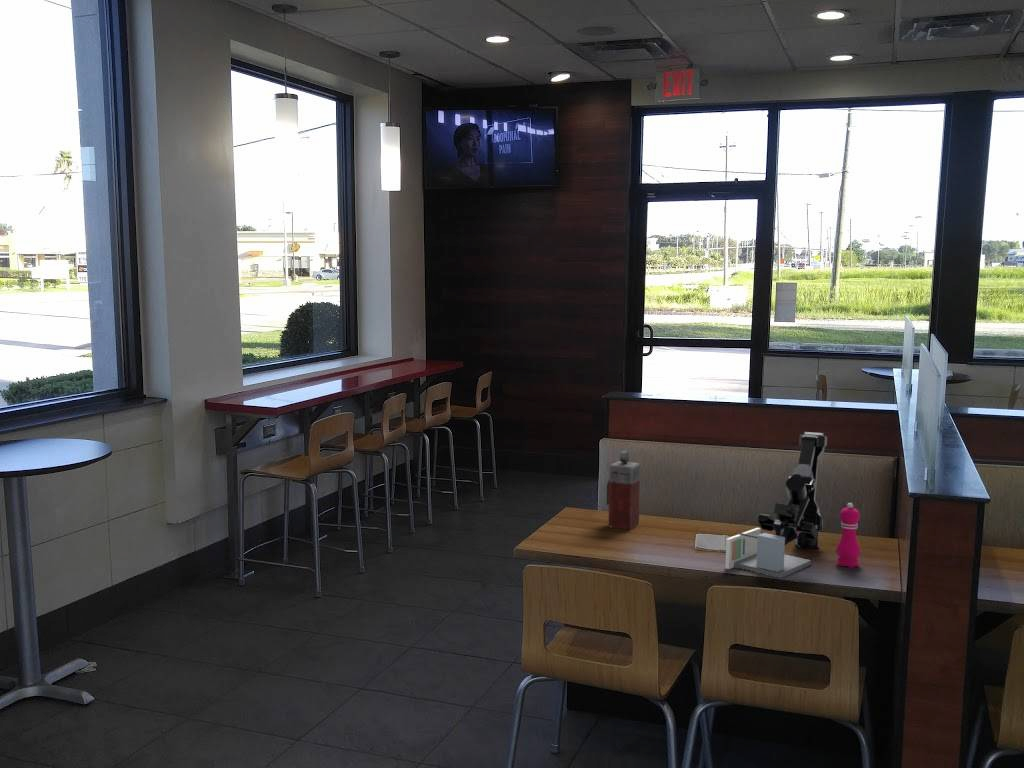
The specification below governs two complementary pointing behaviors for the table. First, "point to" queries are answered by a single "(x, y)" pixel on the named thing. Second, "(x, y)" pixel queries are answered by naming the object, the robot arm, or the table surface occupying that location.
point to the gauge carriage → (769, 551)
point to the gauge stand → (745, 556)
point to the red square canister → (623, 493)
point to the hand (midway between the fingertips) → (777, 549)
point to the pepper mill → (848, 537)
